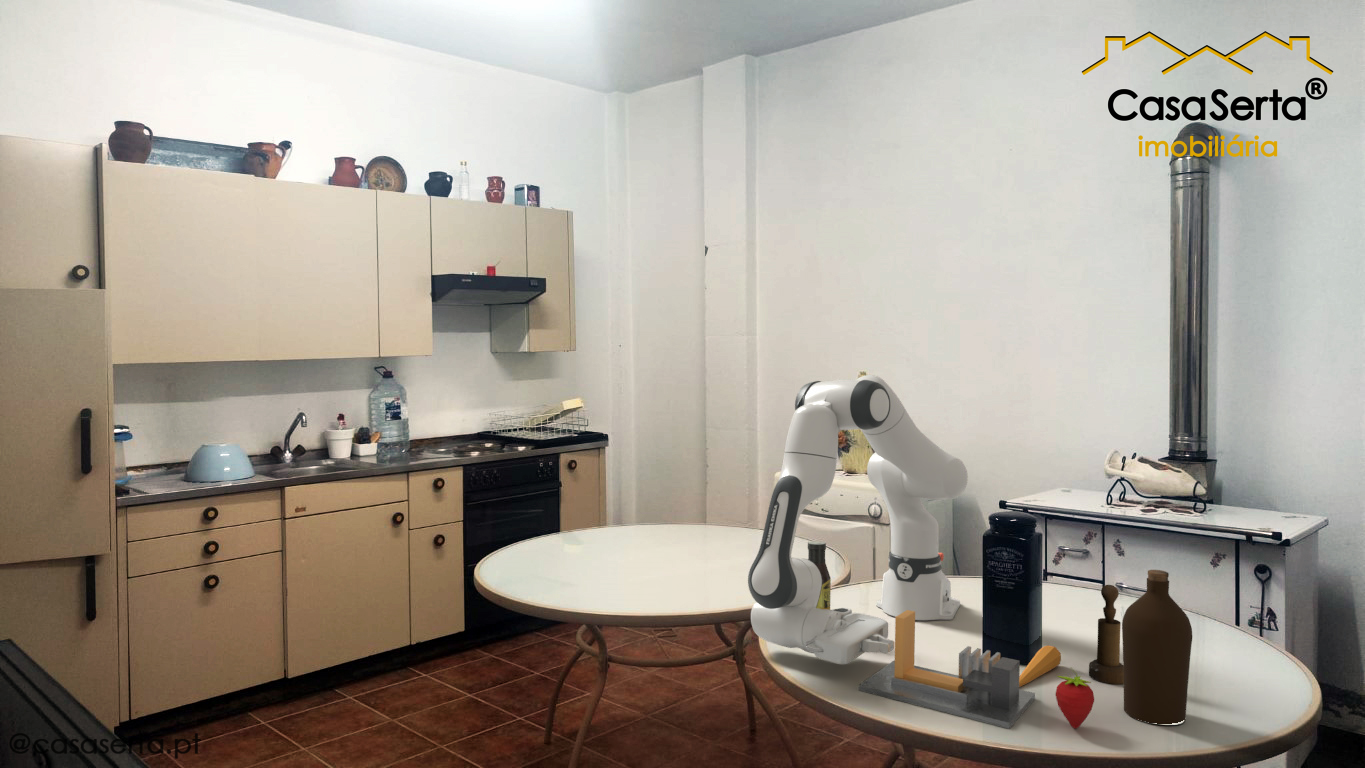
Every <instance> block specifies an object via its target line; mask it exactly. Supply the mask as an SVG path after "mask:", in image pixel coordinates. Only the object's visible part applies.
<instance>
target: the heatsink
mask: <svg viewBox="0 0 1365 768" xmlns="http://www.w3.org/2000/svg"><path fill="white" fill-rule="evenodd" d="M981 652H982V649H981V648H975V650H973V651H972V646H969V645H967V646H966V647H965V648H963V650H961V651H960V652H959V653H958V674H954V673H950V672H949V673H948V672H944V671H941V670H937V669H932V668H927V667H922V666H918V665H914V668H916V669H921V670H925V671H929V672H934V673H938V674H942V675H947V676H951V677H955V678H960V679H963V686H964V687H965V688H964V689H963V690H962V691H961V692H960V693H959V692H955V691H951V690H947V689H943V688H939V687H934V686H930V685H926V684H922V683H918V682H913V681H909V680H905V679H901V678H897V677H894V675H895V660H893V661H891V662H890V663H888V664H887V665H885V666H884V667H883V668H881V669H880V670H878V671H877V672H876V673H874V674H873V675H871V676H870V677H868V678H867V679H866V680H863V682H861V683H860V684H858V691H860V692H862V693H863V692H864V693H868V694H871V695H875V696H880V697H884V698H886V699H887V698H888V699H891V700H895V701H899V702H902V703H907V704H910V705H915V706H919V707H921V708H927V709H930V710H934V711H937V712H938V711H939V712H941V713H945V714H946V713H947V714H950V715H953V716H958V717H961V718H966V719H969V720H974V721H977V722H981V723H985V724H987V725H988V724H989V725H993V726H995V727H996V726H997V727H1001V728H1004V729H1011V728H1012V726H1013V725H1014V724H1015V723H1016V722H1017V720H1019V718H1020V717H1021V716H1022V714H1023V713H1025V711H1026V710H1027V709H1028V707H1029V706H1030V705H1031V704H1032V703H1033V702H1034V701H1035V700H1036V692H1032V691H1028V690H1023V689H1021V688H1020V687H1019V676H1020V662H1021V661H1020V660H1019V659H1018V660H1017V659H1013V658H1008V657H1003V656H1002V657H1001V652H998V651H997V652H995V654H993V655H992V656H991V650H990V649H986V651H985V652H984V653H982V654H981Z"/></svg>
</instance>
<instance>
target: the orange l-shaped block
mask: <svg viewBox="0 0 1365 768" xmlns="http://www.w3.org/2000/svg"><path fill="white" fill-rule="evenodd" d="M894 617H895V616H894ZM894 622H895V623H894V628H895V629H894V632H895V633H894V661H895V675H894V677H897V678H901V679H905V680H909V681H913V682H918V683H922V684H926V685H930V686H934V687H939V688H943V689H947V690H951V691H955V692H959V693H960V692H961V691H962V690H963V689H964V688H965V687H964V686H963V679H960V678H955V677H951V676H947V675H942V674H938V673H934V672H929V671H925V670H921V669H916V668H914V666H915V643H916V642H915V641H916V640H915V638H916V636H915V635H916V620H915V611H910V610H906V611H905V612H903V613H901V614H900V615H898V616H896V617H895V621H894Z"/></svg>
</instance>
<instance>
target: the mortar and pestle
mask: <svg viewBox="0 0 1365 768" xmlns="http://www.w3.org/2000/svg"><path fill="white" fill-rule="evenodd" d="M1100 594H1101V596H1102V598H1103V600H1104V602H1105V606H1104V607H1103V608H1102V609H1103V616H1104V618H1098V619H1097V643H1096V644H1097V647H1096V648H1097V651H1096V659H1095V658H1094V660H1092V661H1090V662H1089V664H1088V666H1089V667H1088V676H1089V677H1090V678H1091V679H1093V680H1095V681H1097V682H1101V683H1104V684H1105V683H1106V684H1110V685H1111V684H1112V685H1124V673H1123V663H1122V662H1120V659H1121V655H1120V652H1121V651H1120V649H1121V627H1122V622H1121V621H1120V620H1117V619H1115V617H1116V613H1117V609H1116V608H1115V602H1116V601H1117V600H1118V598H1119V589H1118V588H1117V587H1116V586H1115V585H1112V584H1105V585H1103V587H1102V588H1101V591H1100Z"/></svg>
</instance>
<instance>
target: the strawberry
mask: <svg viewBox="0 0 1365 768" xmlns="http://www.w3.org/2000/svg"><path fill="white" fill-rule="evenodd" d="M1069 668H1070V670H1072V671H1073V672H1074V673H1075V674H1076V675H1075V676H1074V677H1073V678H1072V677H1070V676H1061V675H1056V677H1057V678H1060V679H1062V680H1063V681H1061V682H1059V684H1058V685H1057V686H1056V689H1055V693H1054V694H1055V699H1056V703H1057V706H1058V708H1059V710H1060V711H1061V713H1062V714H1063V716H1064V717H1065V719H1066V721H1068V723H1069V724H1070V726H1071V727H1072V728H1073V729H1079V727H1080V726H1081V725H1082V724H1083V723H1084V721H1086V718H1087V717H1088V716H1089V715H1090V713H1091V712H1092V709H1093V706H1094V703H1095V695H1094V691H1093V690H1092V688H1091V687H1090V685H1088V684H1089V683H1090V684H1091V683H1092V681H1088V680H1085V679H1083V678H1082V677H1081V676H1082V675H1080V676H1079V675H1078V674H1077V673H1076V672H1075V670H1074V669H1073V668H1072V667H1071V666H1070V667H1069Z"/></svg>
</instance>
